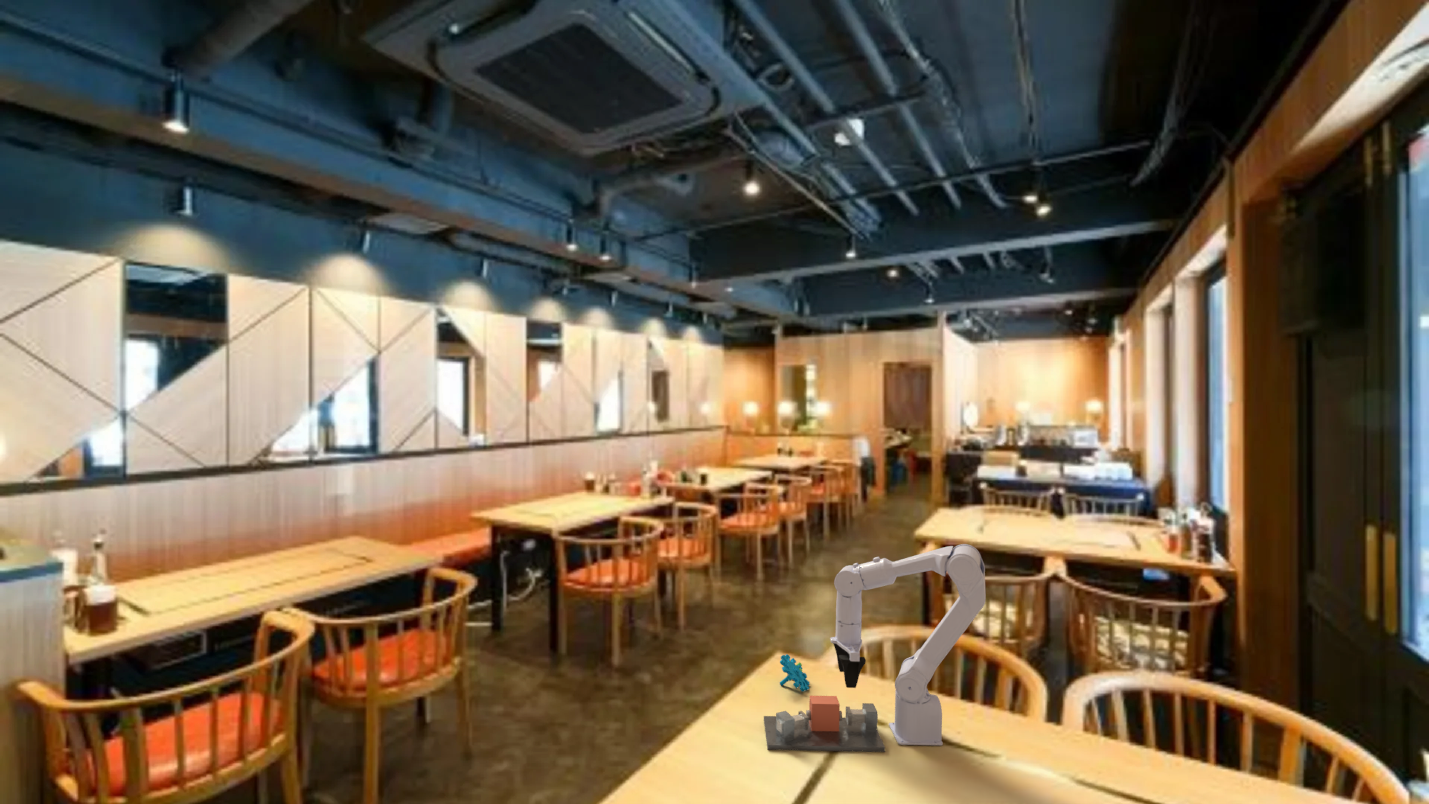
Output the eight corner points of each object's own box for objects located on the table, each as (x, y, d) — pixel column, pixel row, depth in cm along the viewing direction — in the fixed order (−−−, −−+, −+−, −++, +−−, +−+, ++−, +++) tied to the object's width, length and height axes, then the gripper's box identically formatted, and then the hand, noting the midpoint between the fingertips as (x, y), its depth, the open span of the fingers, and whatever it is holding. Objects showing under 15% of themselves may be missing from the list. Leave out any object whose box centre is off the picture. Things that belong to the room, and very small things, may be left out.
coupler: (839, 722, 140) (840, 696, 140) (842, 731, 136) (843, 704, 136) (805, 721, 140) (806, 695, 140) (807, 730, 136) (808, 703, 136)
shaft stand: (871, 722, 142) (872, 698, 142) (885, 752, 131) (885, 726, 130) (763, 720, 142) (764, 696, 142) (767, 749, 131) (768, 723, 131)
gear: (805, 693, 151) (779, 658, 155) (787, 708, 153) (762, 672, 156) (816, 680, 162) (791, 647, 165) (800, 694, 163) (775, 660, 166)
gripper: (825, 608, 150) (824, 664, 150) (837, 632, 135) (835, 694, 136) (855, 608, 150) (853, 665, 150) (869, 632, 135) (868, 694, 136)
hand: (847, 679), depth 143 cm, fingers open, 7 cm apart
